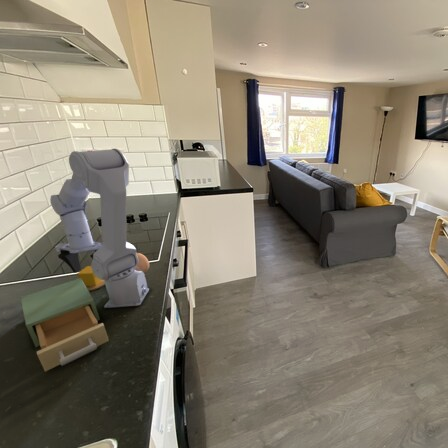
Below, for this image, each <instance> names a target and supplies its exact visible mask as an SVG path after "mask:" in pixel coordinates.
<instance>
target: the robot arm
mask: <svg viewBox="0 0 448 448" xmlns="http://www.w3.org/2000/svg"><path fill="white" fill-rule="evenodd" d="M68 163H69V167H70V169H71V172H72V174H71V175H72V176H71V178H67V179H65V181H64V182H63V183H62V187H61V189H60V191H59V193H58V194H52V195H50V204H51V207H52V209H53V211H54V212H55V214H56V215H57V216H59V219H60V221H61V225H62V227H63V230H64V234H65V237H66V240H67V243H58V244H57V245H55V246H54V248H55V251H56V253H59V254H58V255H57V257H58V259H60V260H61V261H63V262H64V263H65V264H67V265H68V267H69V268H70V270H72V272H73V273H74V274H75V273H76V274H77V273H79V272H80V271H81V270H82V266H81V262H80V257H79V253H80V252H81V253H82V252H93V253H91V254H90V255H89V257H90V258H91V259H92V260H91V263H90V266H91V267H92V270H93V272H94V274H95V275H96V276H97V277H98V278H99V279H102V280H104V281H105V288H106V292H107V295H108V298H109V299H108V301H107V302H106V303H105V304H104V305H103V308H104V309H112V308H124V307H125V308H126V307H138V306H139V307H140V305H141V304H142V303H143V301H144V299H145V298H146V296H147V294H148V293H149V291H150V288H148V283H147V279H146V278H147V277H146V273H145V274H144V273H143V272H142V271H136V269H135V266H136V265H137V264H138V256H137V253H138V252H137V248H136V247H135V246H134V245H133V244H131V243H130V242H128V241H127V186H129V184H130V164H129V161H128V160H127V158H126V156H125V155H124V153H123V152H122V151H121V150H120V149H118V148H110V149H99V150H86V151H85V150H84V151H78V150H77V151H76V150H73V151H72V152H71V153H70V154H69V157H68ZM90 193H93V194H98V195H99V197H100V198H99V201H100V218H101V219H100V220H101V239H102V242H98V241H94V240H93V237H92V233H91V230H90V226H89V222H88V218H87V216H88V210H87V209H88V204H87V201H86V200H87V198H88V196H89V195H90Z"/></svg>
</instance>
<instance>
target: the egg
mask: <svg viewBox="0 0 448 448" xmlns="http://www.w3.org/2000/svg"><path fill="white" fill-rule="evenodd" d="M136 253H137V256H138V264H137V265H136V266H135V269H136V271H142V272H143V273H144V274H145V275H146V274H147V272H148V271H149V269H150V262H149V259H148V258H147V256H145V255H144V254H143V253H140V252H136Z"/></svg>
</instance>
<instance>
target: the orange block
mask: <svg viewBox="0 0 448 448" xmlns="http://www.w3.org/2000/svg"><path fill="white" fill-rule="evenodd" d="M76 274H77V279H79V278H81V279H82V281H83V283H84V285H85V286H96V285H98V284H99V283H100V282H101V281H102V279H99V278H98V277H97V276H96V275H95V274H94V272H93V270H92V267H91V265H87V266H85V267H84V268H83V269H81V270H79V271H78V272H76Z"/></svg>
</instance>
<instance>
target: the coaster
mask: <svg viewBox="0 0 448 448" xmlns="http://www.w3.org/2000/svg"><path fill="white" fill-rule="evenodd" d="M103 287H106V285H105V281H104V280H102V281H101V282H100V283H99V284H98V285H96V286H86V288H87V290H88V291H89V292H91V291H96V290H99V289H101V288H103Z"/></svg>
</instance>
